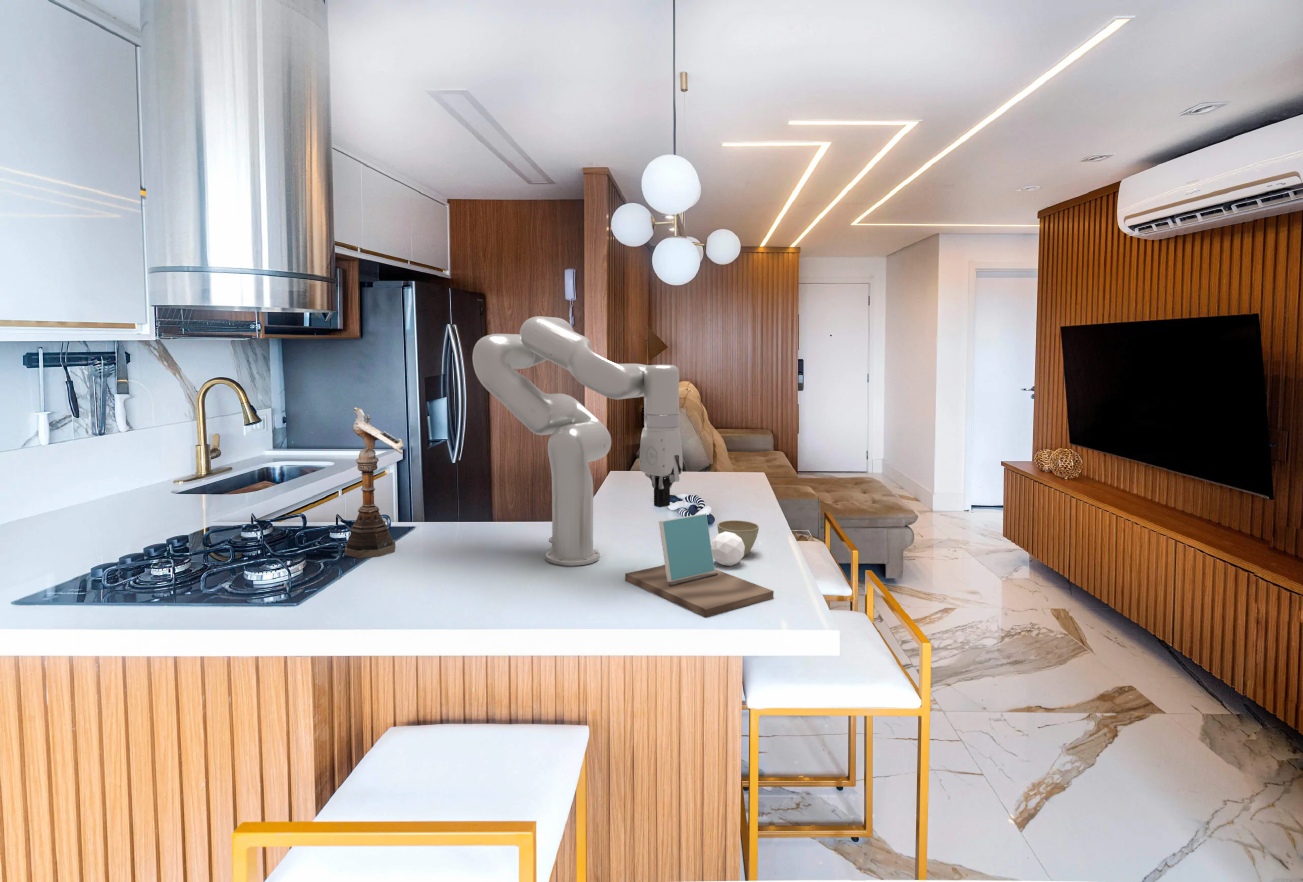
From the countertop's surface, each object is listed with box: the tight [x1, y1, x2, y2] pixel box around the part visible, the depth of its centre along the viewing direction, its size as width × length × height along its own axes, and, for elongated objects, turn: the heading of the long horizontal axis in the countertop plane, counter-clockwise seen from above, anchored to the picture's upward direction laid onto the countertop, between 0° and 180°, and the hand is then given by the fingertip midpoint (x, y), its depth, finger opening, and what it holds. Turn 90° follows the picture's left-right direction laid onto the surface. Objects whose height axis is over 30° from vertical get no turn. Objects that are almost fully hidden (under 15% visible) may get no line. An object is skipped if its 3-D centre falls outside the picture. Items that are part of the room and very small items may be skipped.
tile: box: [658, 513, 716, 582], centre depth 151 cm, size 12×12×1 cm
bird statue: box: [344, 407, 404, 559], centre depth 173 cm, size 17×13×35 cm
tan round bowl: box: [717, 519, 760, 557], centre depth 175 cm, size 10×10×7 cm
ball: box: [711, 531, 745, 567], centre depth 167 cm, size 8×8×8 cm
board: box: [624, 564, 775, 618], centre depth 150 cm, size 26×18×2 cm
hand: (661, 505), depth 158 cm, fingers closed
